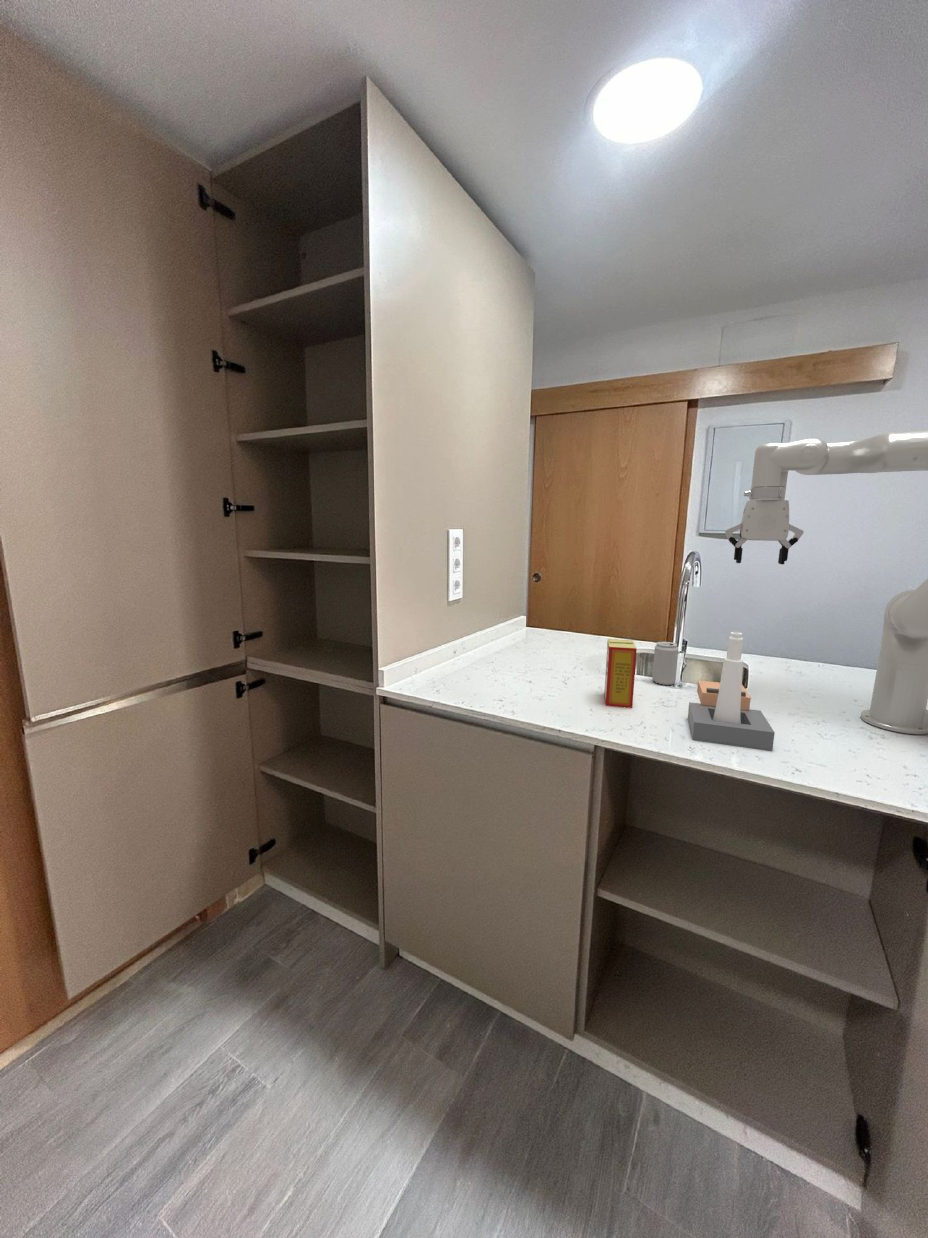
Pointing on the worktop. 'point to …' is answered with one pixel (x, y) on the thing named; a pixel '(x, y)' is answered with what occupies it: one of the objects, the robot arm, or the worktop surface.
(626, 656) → the baking soda box
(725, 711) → the cosmetic bottle
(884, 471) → the robot arm
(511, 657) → the worktop surface
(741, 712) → the socket block
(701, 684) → the orange slotted box
